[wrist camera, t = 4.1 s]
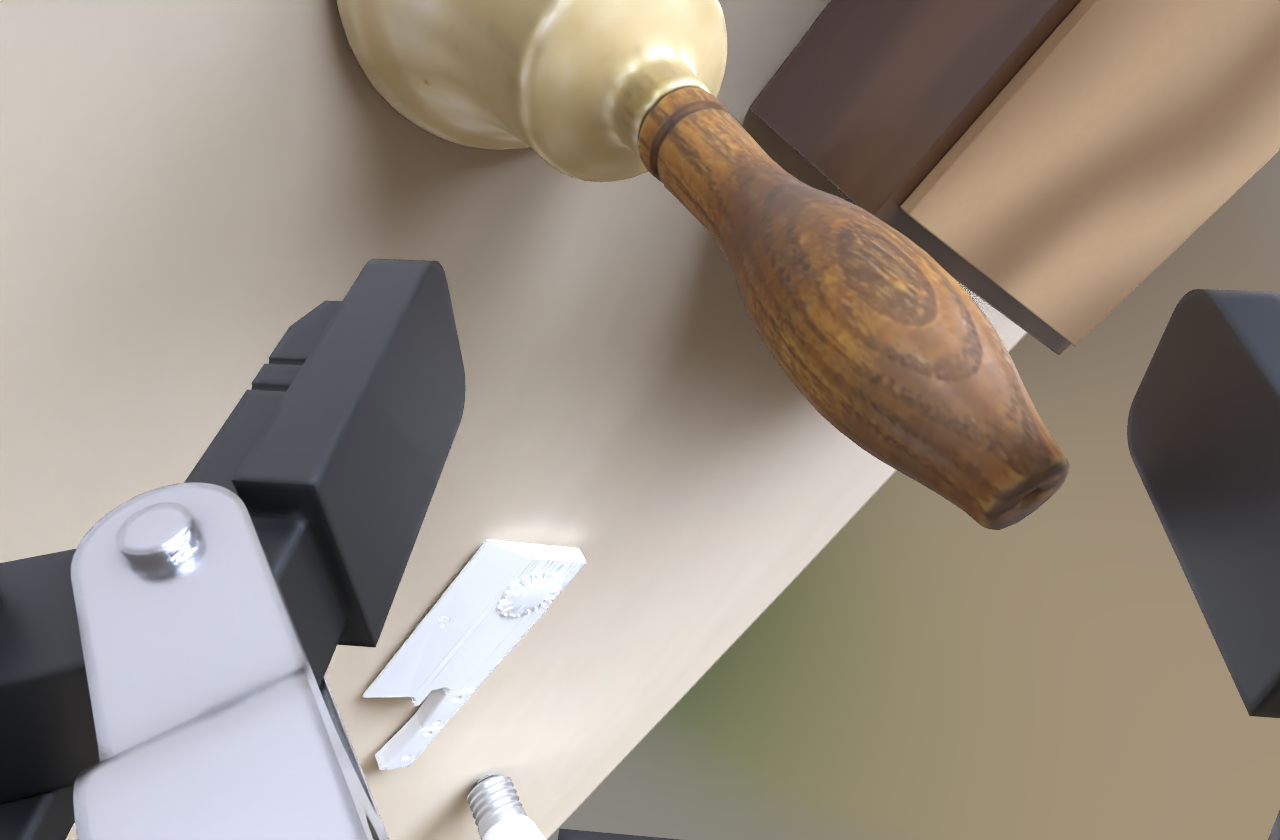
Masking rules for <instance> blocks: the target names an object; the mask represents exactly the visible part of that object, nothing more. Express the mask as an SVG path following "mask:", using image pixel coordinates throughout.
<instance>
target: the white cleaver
mask: <svg viewBox="0 0 1280 840" xmlns="http://www.w3.org/2000/svg"><path fill="white" fill-rule="evenodd" d="M585 563H586V560H585V558H584V556H583V554H582V553H581V551H580V549H579V548H572V547H562V546H552V545H541V544H531V543H521V542H511V541H500V540H490V539H486V541H485V542H484V543H483V544H482V546H481V547H480V548H479V549H478V551H477V552H476V553H475V554H474V556H473V557H472V558H471V559H470V561H469V562H468V563H467V564H466V566H465V567H464V568H463V570H462V571H461V572H460V573H459V575H458V576H457V577H456V578H455V580H454V581H453V582H452V583H451V585H450V586H449V587H448V588H447V590H446V591H445V592H444V593H443V595H442V596H441V597H440V598H439V600H438V601H437V602H436V604H435V605H434V606H433V607H432V609H431V610H430V611H429V612H428V614H427V615H426V616H425V617H424V619H423V620H422V621H421V622H420V624H419V625H418V626H417V627H416V629H415V630H414V631H413V632H412V634H411V635H410V636H409V637H408V639H407V640H406V641H405V643H404V644H403V645H402V646H401V648H400V649H399V650H398V651H397V653H396V654H395V655H394V656H393V658H392V659H391V660H390V661H389V663H388V664H387V665H386V666H385V668H384V669H383V670H382V671H381V673H380V674H379V675H378V677H377V678H376V679H375V680H374V682H373V683H372V684H371V685H370V687H369V688H368V689H367V690H366V692H365V693H364V694H363V697H364V698H386V697H411V700H412V702H413V704H414V706H418V705H419V704H421V703H422V702H423V700H424V699H425V698H426V697H427V696H428V697H427V698H426V700H425V701H424V703H423V704H422V705H421V707H420V708H419V709H418V711H417V712H416V713H415V715H414V716H413V717H412V718H411V719H410V720H409V721H408V722H407V723H406V724H405V725H404V726H403V727H402V728H401V729H400V730H399V731H398V732H397V733H396V734H395V735H394V736H393V737H392V738H391V739H390V740H389V741H388V742H387V743H386V744H385V745H384V746H383V747H382V748H381V749H380V750H379V751H378V752H377V753H376V754H375V757H376V760H377V763H378V766H379V769H380V770H386V769H395V768H402V767H409V766H410V765H411V764H412V762H413V761H414V760H415V759H416V758H417V757H418V756H419V754H420V753H421V752H422V751H423V750H424V749H425V747H426V746H427V745H428V744H429V743H430V742H431V741H432V739H433V738H434V737H435V736H436V735H437V734H438V732H439V731H440V730H441V729H442V728H443V726H444V725H445V724H446V723H447V722H448V721H449V720H450V719H451V717H452V716H453V715H454V714H455V713H456V712H457V711H458V709H459V708H460V707H461V706H462V705H463V704H464V703H465V702H466V700H467V699H468V698H469V697H470V696H471V695H472V694H473V692H474V691H475V690H476V689H477V688H478V687H479V685H480V684H481V683H482V682H483V681H484V680H485V679H486V678H487V676H488V675H489V674H490V673H491V672H492V671H493V670H494V669H495V667H496V666H497V665H498V664H499V663H500V662H501V661H502V660H503V659H504V657H505V656H506V655H507V654H508V653H509V652H510V651H511V650H512V648H513V647H514V646H515V645H516V644H517V643H518V642H519V641H520V640H519V639H521V638H522V637H523V636H524V635H525V634H526V633H527V632H528V631H527V630H529V629H530V628H531V627H532V626H533V625H534V624H535V623H536V621H537V620H538V619H539V618H540V617H541V616H542V615H543V614H542V613H544V612H545V611H546V610H547V609H548V606H549V605H550V603H551V602H552V601H553V600H554V599H555V598H556V597H557V595H558V594H559V593H560V592H561V591H562V590H563V589H564V587H565V586H566V585H567V584H568V583H569V582H570V580H571V579H572V578H573V577H574V576H575V575H576V574H577V572H578V571H579V570H580V569H581V568H582V567H583V566H584V564H585ZM546 608H547V609H546ZM545 609H546V610H545ZM544 610H545V611H544ZM543 611H544V612H543ZM541 614H542V615H541ZM540 615H541V616H540ZM539 616H540V617H539ZM538 617H539V618H538ZM537 618H538V619H537ZM534 622H535V623H534ZM533 623H534V624H533ZM532 624H533V625H532ZM531 625H532V626H531ZM530 626H531V627H530ZM526 631H527V632H526ZM525 632H526V633H525ZM524 633H525V634H524ZM518 640H519V641H518ZM517 641H518V642H517ZM510 649H511V650H510ZM475 688H476V689H475ZM474 689H475V690H474ZM430 692H431V693H430ZM429 693H430V694H429ZM428 694H429V695H428Z"/></svg>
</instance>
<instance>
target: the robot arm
mask: <svg viewBox="0 0 1280 840" xmlns="http://www.w3.org/2000/svg"><path fill="white" fill-rule="evenodd" d="M464 401H465V372H464V366H463V361H462V355H461V350H460V345H459V340H458V335H457V330H456V324H455V319H454V314H453V309H452V304H451V299H450V293H449V288H448V283H447V279H446V275H445V272H444V269H443V267H442V266H441V264H440V263H439V262H437V261H425V260H396V259H371V260H369V261H368V262H367V263H366V265H365V266H364V268H363V269H362V271H361V272H360V274H359V276H358V277H357V279H356V280H355V282H354V284H353V285H352V287H351V288H350V290H349V292H348V293H347V295H346V296H345V298H344V300H343V301H324V302H323V303H322V304H320V305H319V306H318V307H316V308H315V309H313V310H312V311H311V312H309V313H308V314H307V315H305V316H304V317H302V318H301V319H300V320H298V321H297V322H296V323H294V324H293V325H291V326H290V327H289V329H288V330H287V332H286V333H285V335H284V336H283V337H282V339H281V340H280V342H279V343H278V345H277V346H276V348H275V349H274V351H273V352H272V354H271V355H270V357H269V364H264V366H263V367H262V369H261V370H260V372H259V373H258V374H257V376H256V377H255V379H254V380H253V382H252V390H247V391H246V392H245V394H244V395H243V397H242V398H241V400H240V401H239V403H238V404H237V406H236V407H235V408H234V410H233V411H232V413H231V414H230V416H229V417H228V419H227V420H226V422H225V423H224V425H223V426H222V428H221V429H220V431H219V432H218V434H217V435H216V437H215V438H214V440H213V441H212V443H211V444H210V445H209V447H208V448H207V450H206V451H205V453H204V454H203V456H202V457H201V459H200V460H199V462H198V463H197V465H196V466H195V468H194V469H193V471H192V472H191V474H190V475H189V477H188V478H187V479H186V481H185V482H184V483H179V484H173V485H169V486H164V487H160V488H157V489H154V490H151V491H148V492H145V493H143V494H141V495H138V496H136V497H134V498H132V499H130V500H128V501H126V502H124V503H123V504H121V505H119V506H118V507H116V508H115V509H113V510H112V511H110V512H109V513H107V514H106V515H105V516H104V517H103V518H101V519H100V520H99V521H98V522H97V523H96V524H95V525H94V526H93V527H92V528H91V529H90V530H89V531H88V532H87V533H86V535H85V536H84V538H83V539H82V540H81V542H80V543H79V545H78V547H77V549H73V550H68V551H62V552H57V553H52V554H47V555H41V556H36V557H31V558H26V559H20V560H15V561H10V562H4V563H0V840H65V839H66V837H67V835H68V834H69V832H70V830H71V828H72V826H73V824H74V822H75V823H76V831H77V839H78V840H390V839H389V837H388V834H387V832H386V830H385V827H384V825H383V822H382V820H381V817H380V815H379V812H378V809H377V807H376V804H375V802H374V799H373V797H372V794H371V792H370V789H369V787H368V784H367V782H366V779H365V777H364V774H363V772H362V769H361V766H360V764H359V761H358V759H357V756H356V754H355V751H354V749H353V746H352V744H351V741H350V739H349V736H348V734H347V731H346V729H345V726H344V723H343V721H342V718H341V716H340V713H339V711H338V708H337V706H336V703H335V701H334V698H333V696H332V693H331V691H330V688H329V686H328V683H327V681H326V679H325V677H324V675H325V672H326V670H327V668H328V665H329V663H330V660H331V658H332V656H333V653H334V651H335V648H336V646H337V645H350V646H364V647H376V644H377V642H378V639H379V637H380V634H381V631H382V629H383V626H384V623H385V621H386V618H387V615H388V613H389V610H390V607H391V605H392V602H393V599H394V597H395V594H396V591H397V589H398V586H399V583H400V581H401V578H402V575H403V573H404V570H405V568H406V565H407V562H408V560H409V557H410V554H411V552H412V549H413V546H414V544H415V541H416V538H417V536H418V533H419V530H420V528H421V525H422V522H423V520H424V517H425V514H426V512H427V509H428V506H429V504H430V501H431V499H432V496H433V493H434V491H435V488H436V485H437V483H438V480H439V477H440V475H441V472H442V469H443V467H444V464H445V461H446V459H447V456H448V453H449V451H450V448H451V445H452V443H453V440H454V437H455V435H456V432H457V430H458V427H459V424H460V421H461V418H462V414H463V409H464ZM1127 436H1128V445H1129V450H1130V454H1131V457H1132V459H1133V462H1134V464H1135V466H1136V468H1137V470H1138V473H1139V475H1140V477H1141V479H1142V482H1143V484H1144V486H1145V488H1146V490H1147V493H1148V495H1149V497H1150V499H1151V501H1152V503H1153V505H1154V507H1155V510H1156V512H1157V514H1158V517H1159V519H1160V521H1161V523H1162V525H1163V528H1164V530H1165V532H1166V534H1167V536H1168V538H1169V541H1170V543H1171V545H1172V547H1173V549H1174V551H1175V554H1176V556H1177V558H1178V560H1179V562H1180V565H1181V567H1182V569H1183V571H1184V573H1185V576H1186V578H1187V580H1188V582H1189V584H1190V586H1191V589H1192V591H1193V593H1194V595H1195V597H1196V599H1197V601H1198V604H1199V606H1200V608H1201V611H1202V613H1203V615H1204V617H1205V619H1206V621H1207V624H1208V626H1209V628H1210V630H1211V632H1212V635H1213V637H1214V639H1215V641H1216V643H1217V646H1218V648H1219V650H1220V652H1221V654H1222V656H1223V659H1224V660H1225V663H1226V665H1227V667H1228V670H1229V672H1230V674H1231V676H1232V678H1233V680H1234V683H1235V685H1236V687H1237V689H1238V691H1239V693H1240V696H1241V698H1242V700H1243V702H1244V704H1245V707H1246V709H1247V711H1248V713H1249V715H1250V716H1259V717H1272V718H1280V295H1279V294H1277V293H1274V292H1264V291H1263V292H1262V291H1235V290H1207V289H1206V290H1205V289H1196V290H1192V291H1190V292H1188V293H1187V294H1185V295H1184V296H1183V298H1182V299H1181V300H1180V301H1179V303H1178V304H1177V306H1176V308H1175V310H1174V312H1173V314H1172V316H1171V318H1170V321H1169V323H1168V325H1167V327H1166V329H1165V332H1164V334H1163V336H1162V338H1161V340H1160V342H1159V345H1158V347H1157V349H1156V351H1155V353H1154V356H1153V358H1152V360H1151V362H1150V364H1149V366H1148V369H1147V371H1146V373H1145V375H1144V377H1143V380H1142V382H1141V384H1140V386H1139V388H1138V391H1137V393H1136V395H1135V397H1134V399H1133V402H1132V405H1131V409H1130V412H1129V418H1128V426H1127ZM558 840H678V839H667V838H655V837H645V836H633V835H623V834H612V833H600V832H589V831H579V830H568V829H559V836H558ZM1268 840H1280V811H1279V813H1278V816H1277V818H1276V821H1275V823H1274V826H1273V828H1272V831H1271V833H1270V836H1269V838H1268Z"/></svg>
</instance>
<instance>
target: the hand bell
mask: <svg viewBox="0 0 1280 840" xmlns="http://www.w3.org/2000/svg"><path fill="white" fill-rule="evenodd" d="M337 5H338V10H339V13H340V17H341V21H342V24H343V27H344V30H345V33H346V36H347V39H348V42H349V45H350V47H351V48H352V50H353V53H354V55H355V57H356V59H357V61H358V63H359V64H360V66H361V68H362V69H363V71H364V73H365V75H366V76H367V78H368V79H369V81H370V82H371V84H372V85H373V86H374V88H375V89H376V90H377V91H378V92H379V93H380V94H381V95H382V97H383V98H384V99H385V100H386V101H387V102H388V103H389V104H390V105H391V106H392V107H393V108H394V109H395V110H396V111H397V112H399V113H400V114H401V115H403V116H404V117H405V118H406V119H408V120H409V121H411V122H412V123H414V124H415V125H417V126H418V127H420V128H422V129H424V130H425V131H427V132H429V133H431V134H434V135H436V136H438V137H440V138H443V139H445V140H447V141H450V142H453V143H456V144H459V145H464V146H470V147H476V148H484V149H496V150H506V149H520V148H528V147H531V148H532V149H533V150H534V151H535V152H536V153H537V154H538V155H539V156H540V157H542V158H543V159H544V160H545V161H546V162H547V163H548V164H550V165H551V166H553V167H554V168H555V169H557V170H558V171H560V172H562V173H564V174H566V175H568V176H571V177H574V178H578V179H581V180H585V181H593V182H611V181H618V180H624V179H628V178H632V177H635V176H637V175H640V174H643V173H645V172H647V171H649V172H650V173H651V174H652V175H653V176H654V177H656V178H657V179H658V180H659V181H661V182H662V183H663V184H664V186H665V187H666V188H667V189H668V190H669V191H670V192H671V193H672V194H673V195H674V196H675V197H676V198H677V199H678V200H679V201H680V202H681V203H682V204H683V205H684V206H685V207H686V208H687V209H688V210H689V211H690V212H691V213H692V214H693V215H694V216H695V217H696V218H697V219H698V220H699V221H700V222H701V224H702V225H703V226H704V227H705V228H706V229H707V230H708V231H709V232H710V233H711V235H712V236H713V237H714V239H715V240H716V241H717V243H718V244H719V246H720V248H721V249H722V251H723V253H724V254H725V256H726V258H727V260H728V262H729V265H730V267H731V269H732V272H733V275H734V278H735V281H736V284H737V287H738V289H739V292H740V295H741V297H742V300H743V302H744V305H745V307H746V309H747V311H748V313H749V315H750V317H751V319H752V321H753V323H754V325H755V327H756V329H757V331H758V333H759V335H760V336H761V338H762V339H763V341H764V342H765V344H766V346H767V347H768V349H769V350H770V352H771V353H772V355H773V356H774V358H775V359H776V361H777V362H778V363H779V365H780V366H781V367H782V369H783V370H784V371H785V373H786V374H787V375H788V377H789V378H790V380H791V381H792V382H793V383H794V385H795V386H796V387H797V388H798V389H799V390H800V392H801V393H802V394H803V395H804V396H805V397H806V398H807V400H808V401H809V402H810V403H811V404H812V405H813V406H814V407H815V409H816V410H817V411H818V412H819V413H820V414H821V415H822V416H823V417H824V418H825V419H827V420H828V421H829V422H830V423H831V424H832V425H833V426H834V427H835V428H837V429H838V430H839V431H840V432H841V433H843V434H844V435H845V436H847V437H848V438H849V439H850V440H852V441H853V442H854V443H856V444H857V445H858V446H860V447H861V448H862V449H864V450H865V451H867V452H868V453H870V454H871V455H873V456H875V457H876V458H878V459H879V460H881V461H882V462H884V463H886V464H888V465H889V466H891V467H893V468H895V469H896V470H898V471H900V472H902V473H903V474H905V475H907V476H909V477H910V478H912V479H914V480H916V481H917V482H919V483H921V484H922V485H924V486H926V487H928V488H929V489H931V490H933V491H934V492H936V493H938V494H939V495H941V496H942V497H944V498H945V499H947V500H948V501H950V502H952V503H953V504H955V505H956V506H958V507H959V508H961V509H962V510H963V511H965V512H966V513H967V514H968V515H969V516H971V517H972V518H973V519H974V520H976V521H977V522H978V523H979V524H980V525H981V526H983V527H985V528H988V529H994V530H1000V529H1003V528H1006V527H1008V526H1011V525H1013V524H1015V523H1018V522H1019V521H1021V520H1022V519H1023V518H1025V517H1026V516H1028V515H1029V514H1031V513H1032V512H1034V511H1035V510H1037V509H1038V508H1039V507H1040V506H1041V505H1042V504H1043V503H1045V502H1046V501H1047V500H1048V499H1049V498H1050V497H1051V496H1052V495H1053V494H1054V493H1056V492H1057V491H1058V490H1059V489H1060V488H1061V487H1062V485H1063V483H1064V481H1065V479H1066V477H1067V475H1068V473H1069V469H1070V464H1069V463H1068V460H1067V458H1066V457H1065V456H1064V454H1063V453H1062V451H1061V450H1060V448H1059V447H1058V445H1057V444H1056V442H1055V441H1054V439H1053V438H1052V436H1051V435H1050V434H1049V432H1048V431H1047V429H1046V427H1045V425H1044V423H1043V422H1042V420H1041V418H1040V416H1039V414H1038V413H1037V411H1036V409H1035V407H1034V405H1033V403H1032V401H1031V399H1030V397H1029V395H1028V393H1027V391H1026V389H1025V387H1024V385H1023V383H1022V380H1021V378H1020V376H1019V374H1018V372H1017V370H1016V368H1015V365H1014V363H1013V361H1012V359H1011V357H1010V355H1009V353H1008V351H1007V350H1006V348H1005V346H1004V344H1003V342H1002V340H1001V338H1000V337H999V335H998V334H997V332H996V330H995V329H994V327H993V326H992V324H991V322H990V321H989V320H988V318H987V317H986V316H985V314H984V313H983V312H982V311H981V309H980V308H979V307H978V305H977V304H976V303H975V301H974V300H973V299H972V298H971V296H970V295H969V294H968V293H967V292H966V291H965V290H964V289H963V288H962V287H961V285H960V284H959V283H958V282H957V281H956V280H955V279H954V278H953V277H952V276H951V275H950V274H949V273H948V272H947V271H945V270H944V269H943V268H942V267H941V266H940V265H939V264H938V263H937V262H936V261H935V260H934V259H933V258H932V257H931V256H930V255H929V254H928V253H927V252H925V251H924V250H923V249H922V248H920V247H919V246H918V245H916V244H915V243H914V242H912V241H911V240H910V239H909V238H907V237H906V236H905V235H903V234H902V233H900V232H899V231H897V230H895V229H894V228H892V227H891V226H889V225H888V224H886V223H885V222H883V221H882V220H880V219H879V218H877V217H875V216H874V215H872V214H871V213H869V212H868V211H866V210H864V209H863V208H861V207H859V206H857V205H855V204H853V203H850V202H848V201H846V200H844V199H842V198H840V197H837V196H835V195H832V194H829V193H826V192H824V191H821V190H818V189H815V188H813V187H811V186H809V185H807V184H805V183H804V182H802V181H800V180H799V179H797V178H795V177H794V176H792V175H791V174H789V173H788V172H786V171H785V170H784V169H783V168H782V167H781V166H779V165H778V164H777V163H776V162H775V161H774V160H772V159H771V158H770V157H769V155H768V154H767V153H766V152H765V151H764V150H763V149H762V148H761V147H760V146H759V144H758V143H757V142H756V141H755V140H754V139H753V138H752V137H751V136H750V135H749V133H748V132H747V131H746V130H745V129H744V128H743V127H742V126H741V125H740V124H739V122H738V121H737V120H736V119H734V118H733V117H732V116H731V115H729V113H728V111H727V109H726V108H725V107H724V105H723V104H722V103H721V102H720V101H719V99H718V98H717V95H718V93H719V90H720V87H721V84H722V80H723V76H724V72H725V67H726V59H727V31H726V25H725V19H724V15H723V11H722V8H721V6H720V4H719V1H718V0H337Z"/></svg>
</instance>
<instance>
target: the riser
mask: <svg viewBox="0 0 1280 840" xmlns="http://www.w3.org/2000/svg"><path fill="white" fill-rule="evenodd" d="M750 109H751V111H752V112H753V113H755V114H756V115H757V116H758V117H759V118H760V119H761V120H762V121H764V122H765V123H766V124H767V125H768V126H769V127H770V128H771V129H772V130H774V131H775V132H776V133H777V134H778V135H779V136H780V137H781V138H782V139H784V140H785V141H786V142H787V143H788V144H789V145H790V146H791V147H792V148H794V149H795V150H796V151H797V152H798V153H799V154H800V155H801V156H803V157H804V158H805V159H806V160H807V161H808V162H809V163H810V164H811V165H813V166H814V167H815V168H816V169H817V170H818V171H819V172H820V173H821V174H823V175H824V176H825V177H826V178H827V179H828V180H829V181H830V182H832V183H833V184H834V185H835V186H836V187H837V188H838V189H839V190H840V191H842V192H843V193H844V194H845V195H846V196H847V197H848V198H849V199H850V200H852V201H853V202H854V203H855V204H856V205H857V206H859V207H861V208H863V209H864V210H866V211H868V212H869V213H871V214H872V215H874V216H875V217H877V218H879V219H880V220H882V221H883V222H885V223H886V224H888V225H889V226H891V227H892V228H894V229H895V230H897V231H899V232H900V233H902V234H903V235H905V236H906V237H907V238H909V239H910V240H911V241H912V242H914V243H915V244H916V245H918V246H919V247H920V248H922V249H923V250H924V251H925V252H927V253H928V254H929V255H930V256H931V257H932V258H933V259H934V260H935V261H936V262H937V263H938V264H939V265H940V266H941V267H942V268H943V269H944V270H945V271H947V272H948V273H949V274H950V275H951V276H952V277H953V278H954V279H955V280H957V281H958V282H959V283H961V284H962V285H964V286H965V287H966V288H968V289H969V290H970V291H972V292H973V293H974V294H976V295H977V296H979V297H980V298H981V299H983V300H984V301H985V302H987V303H988V304H990V305H991V306H992V307H994V308H995V309H996V310H998V311H999V312H1000V313H1002V314H1003V315H1005V316H1006V317H1007V318H1009V319H1010V320H1011V321H1013V322H1014V323H1015V324H1017V325H1018V326H1020V327H1021V328H1022V329H1024V330H1025V331H1026V332H1028V333H1029V334H1031V335H1032V336H1033V337H1035V338H1036V339H1037V340H1039V341H1040V342H1041V343H1043V344H1044V345H1046V346H1047V347H1048V348H1050V349H1051V350H1052V351H1054V352H1055V353H1057V354H1058V355H1060V354H1061V353H1062V352H1063V351H1064V350H1065V349H1066V348H1067V347H1068V346H1069V345H1070V344H1072V345H1073V346H1076V345H1077V344H1078V343H1079V342H1080V341H1081V340H1082V339H1083V338H1084V337H1085V336H1086V335H1087V334H1088V333H1089V332H1090V331H1091V330H1092V329H1093V328H1094V327H1096V326H1097V325H1098V323H1100V322H1101V321H1102V320H1103V319H1104V318H1105V317H1106V316H1107V315H1108V314H1109V313H1110V312H1111V311H1112V310H1113V309H1114V308H1115V307H1116V306H1117V305H1118V304H1119V303H1121V301H1123V300H1124V299H1125V298H1126V297H1127V296H1128V295H1129V294H1130V293H1131V292H1132V291H1133V290H1134V289H1135V288H1136V287H1137V286H1138V285H1139V284H1140V283H1141V282H1142V281H1143V280H1144V279H1146V278H1147V277H1148V276H1149V275H1150V274H1151V273H1152V272H1153V271H1154V270H1155V269H1156V268H1157V267H1158V266H1159V265H1160V264H1161V263H1162V262H1163V261H1164V260H1165V259H1166V258H1167V257H1168V256H1169V255H1171V254H1172V253H1173V252H1174V251H1175V250H1176V249H1177V248H1178V247H1179V246H1180V245H1181V244H1182V243H1183V242H1184V241H1185V240H1186V239H1187V238H1188V237H1189V236H1190V235H1191V234H1192V233H1193V232H1194V231H1195V230H1197V229H1198V228H1199V227H1200V226H1201V225H1202V224H1203V223H1204V222H1205V221H1206V220H1207V219H1208V218H1209V217H1210V216H1211V215H1212V214H1213V213H1214V212H1215V211H1216V210H1217V209H1218V208H1220V207H1221V206H1222V204H1224V203H1225V202H1226V201H1227V200H1228V199H1229V198H1230V197H1231V196H1232V195H1233V194H1234V193H1235V192H1236V191H1237V190H1238V189H1239V188H1240V187H1241V186H1242V185H1243V184H1245V183H1246V182H1247V181H1248V180H1249V179H1250V178H1251V177H1252V176H1253V175H1254V174H1255V173H1256V172H1257V171H1258V170H1259V169H1260V168H1261V167H1262V166H1263V165H1264V164H1265V163H1266V162H1267V161H1269V159H1271V157H1273V156H1274V154H1276V153H1277V152H1278V151H1279V150H1280V0H832V1H831V2H830V3H829V5H828V6H827V7H826V9H825V10H824V11H823V13H822V14H821V15H820V16H819V18H818V19H817V20H816V22H815V23H814V24H813V26H812V27H811V28H810V30H809V31H808V32H807V34H806V35H805V36H804V38H803V39H802V40H801V41H800V43H799V44H798V45H797V47H796V48H795V49H794V51H793V52H792V53H791V55H790V56H789V57H788V59H787V60H786V61H785V63H784V64H783V65H782V66H781V68H780V69H779V70H778V72H777V73H776V74H775V76H774V77H773V78H772V80H771V81H770V82H769V84H768V85H767V86H766V88H765V89H764V90H763V91H762V93H761V94H760V95H759V97H758V98H757V99H756V101H755V102H754V103H753V105H752V106H751V108H750Z"/></svg>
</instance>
